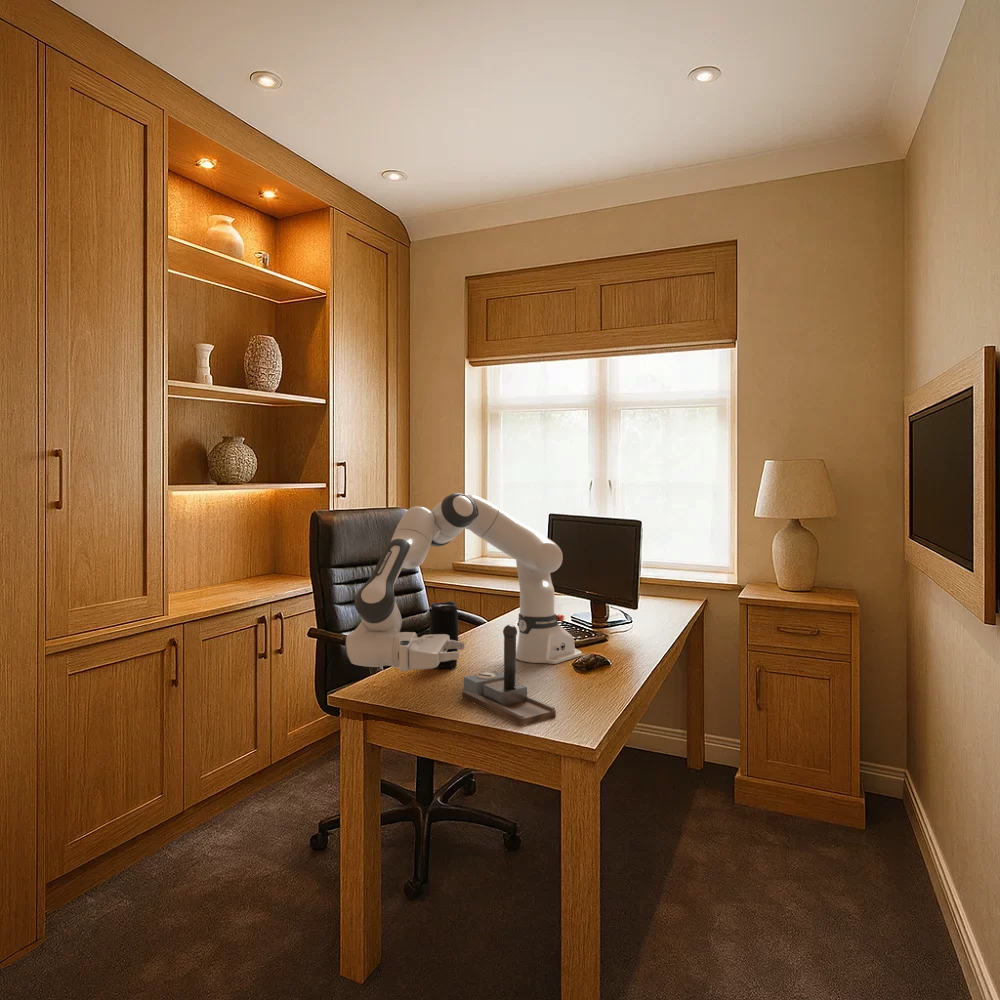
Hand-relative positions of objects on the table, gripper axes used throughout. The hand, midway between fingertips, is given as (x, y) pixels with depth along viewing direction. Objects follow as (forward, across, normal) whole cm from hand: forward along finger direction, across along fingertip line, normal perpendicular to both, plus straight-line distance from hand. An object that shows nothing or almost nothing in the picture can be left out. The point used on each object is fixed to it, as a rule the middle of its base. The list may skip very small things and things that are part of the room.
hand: (461, 650), depth 176 cm
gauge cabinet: (+5, -8, -13) cm, 16 cm away
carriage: (+11, -1, -13) cm, 17 cm away
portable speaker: (-11, -35, -15) cm, 39 cm away
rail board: (+11, 0, -15) cm, 18 cm away
